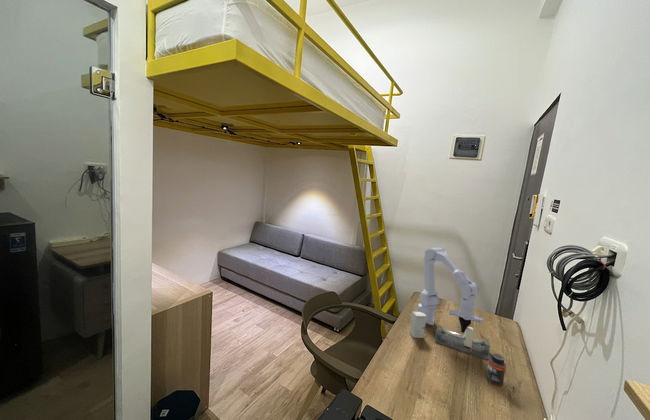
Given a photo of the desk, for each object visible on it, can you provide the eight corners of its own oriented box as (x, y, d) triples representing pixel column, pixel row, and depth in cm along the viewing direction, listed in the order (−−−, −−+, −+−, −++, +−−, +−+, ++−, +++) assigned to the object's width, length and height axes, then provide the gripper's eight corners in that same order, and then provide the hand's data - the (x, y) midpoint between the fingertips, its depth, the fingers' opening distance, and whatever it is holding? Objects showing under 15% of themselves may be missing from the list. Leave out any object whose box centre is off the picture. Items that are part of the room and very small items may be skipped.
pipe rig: (434, 342, 123) (436, 332, 122) (435, 330, 134) (436, 320, 133) (490, 361, 113) (492, 350, 112) (486, 346, 124) (488, 336, 123)
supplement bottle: (499, 378, 103) (504, 354, 101) (505, 389, 97) (510, 363, 96) (483, 373, 105) (488, 349, 103) (487, 384, 99) (492, 359, 98)
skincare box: (413, 338, 125) (416, 316, 124) (408, 332, 130) (411, 311, 128) (424, 337, 126) (427, 316, 125) (419, 332, 130) (422, 311, 129)
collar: (464, 345, 120) (467, 330, 119) (463, 339, 125) (466, 325, 124) (471, 347, 119) (474, 332, 118) (470, 342, 124) (472, 327, 123)
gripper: (450, 305, 121) (446, 330, 122) (485, 314, 114) (480, 341, 116) (450, 299, 127) (446, 323, 128) (482, 308, 121) (478, 333, 122)
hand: (462, 331), depth 123 cm, fingers closed
